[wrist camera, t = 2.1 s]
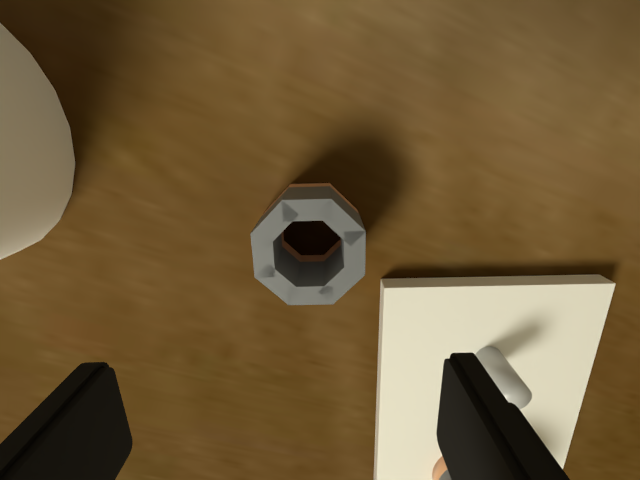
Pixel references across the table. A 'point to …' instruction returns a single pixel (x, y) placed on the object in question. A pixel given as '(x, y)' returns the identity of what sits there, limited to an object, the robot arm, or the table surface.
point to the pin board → (467, 324)
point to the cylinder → (30, 150)
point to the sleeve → (309, 270)
